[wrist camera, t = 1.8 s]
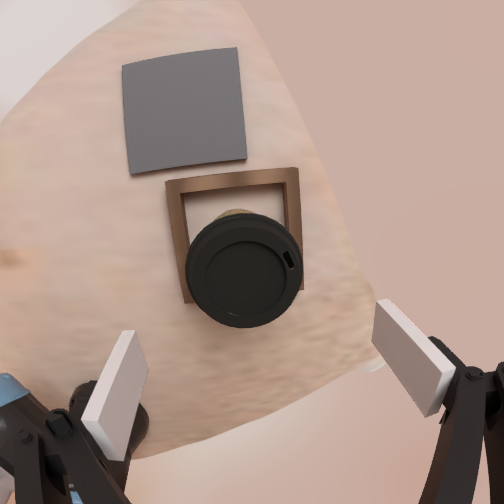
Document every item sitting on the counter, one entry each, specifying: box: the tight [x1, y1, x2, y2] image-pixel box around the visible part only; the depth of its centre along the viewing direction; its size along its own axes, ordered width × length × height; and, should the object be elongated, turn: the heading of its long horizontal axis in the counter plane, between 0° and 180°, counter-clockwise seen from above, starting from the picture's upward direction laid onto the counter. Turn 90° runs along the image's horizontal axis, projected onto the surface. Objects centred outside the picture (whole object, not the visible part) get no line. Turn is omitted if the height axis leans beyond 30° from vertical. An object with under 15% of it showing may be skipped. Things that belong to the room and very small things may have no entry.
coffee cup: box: [185, 209, 303, 328], centre depth 30 cm, size 10×10×15 cm
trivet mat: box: [122, 47, 247, 174], centre depth 32 cm, size 14×14×1 cm
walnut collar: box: [165, 167, 304, 304], centre depth 36 cm, size 15×15×2 cm
